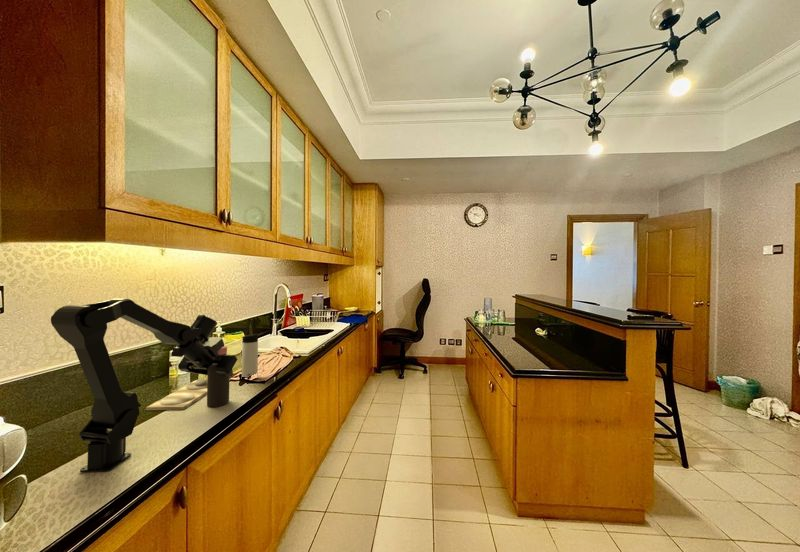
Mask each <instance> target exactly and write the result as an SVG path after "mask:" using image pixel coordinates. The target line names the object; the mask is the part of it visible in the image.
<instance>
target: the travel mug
mask: <svg viewBox="0 0 800 552" xmlns="http://www.w3.org/2000/svg"><path fill="white" fill-rule="evenodd" d="M258 339H259V333H254V334H253V333H252V334H247V335H245V336H244V335H243V336H242V345H241V378H242V377H249V376H252V375H254V374H256V373H257V374H258V362H259V359H258V358H259V357H258V356H259V340H258Z"/></svg>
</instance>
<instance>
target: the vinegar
mask: <svg viewBox="0 0 800 552" xmlns="http://www.w3.org/2000/svg"><path fill="white" fill-rule="evenodd" d="M217 352H218V353H219V354H218V355H217V357H215V358H222V356H223V355H228V354H227V353H228V346H227V345H226V346H225V345H224V347H222V348H221V349H220V350H219V351H217ZM206 376H207V394H206V406H207V407H209V408H220V407H222V406H225V405H227V404H228V403H229V402H230V377H229V376H224V375H220V374H219V373H217V372H216V366H215V365H211V366H209V368H208V373H207V375H206Z"/></svg>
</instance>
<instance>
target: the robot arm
mask: <svg viewBox="0 0 800 552" xmlns="http://www.w3.org/2000/svg"><path fill="white" fill-rule="evenodd" d="M119 319H123V320H125V321H127V322H130V323H132V324H134V325H136V326H138V327H140V328H142V329H143V330H147V331H148V332H150V333H152V334H153V336H154V337H155V338H156V339H157V340H158V341H159V342H161V343H163V344H166V345H175V347H172V352H171V357H173V358H174V357H175V358H176V357H178V358H179V357H180V358H182V359H181V360H180V361H179V363H178V364H177V369H178V370H179V371H180V372H185V373H191V374H195V375H196V374H197V375H203V376H207V373H208V368H209V366H211V365H215V366H216V372H217V373H219V374H220V375H224V376H229V378H232V377H233V375H234V371H233V369H234V366H235V364H236V363H237V362H238V357H237V356H236V355H235V354H226V355H223V356H222V358H215V357H217V355H218V354H219V353H218V352H217V351H219V350H220V349H221V348H222V347H224V346H225V343H224V339H223V338H222V337H219V336H212V337H210V336H211V334H212V333H213V331H214V330H215V328H216V327H217V326H218V323H217V320H215V319H213V318H210V317H208V316H206V314H198V315H197V317H196V318H195V320H194V322H193V323H192V324H191V326H190V325H187V324H183V323H181V322H176V321H172V320H171V321H170V320H168V319H166V318H164V317H162V316H160V315H158V314H156V313H155V312H152V311H151V310H149V309H147V308H145V307H143V306H141V305H139V304H137V303H135V301H134V300H132V299H129V298H111V299H107V300H105V301H101V302H100V301H98V302H94V303H88V304H82V305H72V304H71V305H64V306H61V307H60V308H58V309H56V310H55V311H54V313H53V315H51V317H50V323H51V326H52V327H53V329H54V330H55V331H56V332H57V334H58V335H59V337H60V338H62V339H63V340H64V341H66V342H67V343H68V344H69V345H70V346H72V347H73V349H74V351H75V355H76V356H77V360H78V362H79V364H80V367H81V369H82V371H83V375H84V376H85V378H86V381H87V384H88V386H89V388H90V391H91V394H92V395H93V397H94V398H93V399H94V401H93V404H92V407H91V410H90V412H91V418H90V420H89V421H88V423H86V425H84V427H83V428H82V429H81V430H80V432H79V433H78V436H79V439H80V440H81V441H82V442H84V441H86V442H89V443H88V445H87V464H86V465H85V466H83V467H82V468H80V469H79V472H80V473H89V472H94V473H95V472H108V471H112V469H114V468H115V467H117V466H118V465H119V464H121V463H122V462H124V461H125V460H127V459H128V458H130V457H131V456H132V453H131V452H126V449H127V448H126V446H127V445H126V444H127V442H126V441H127V440H126V439H127V438H128V437H129V436H131V435H133V432H134V428H135V427H136V424H137V420H138V417H140V407H142V404H141V403H139V400H138V399H139V398H138V395H137V394H136V392H128V391H123V389H122V386H121V384H120V380H119V378H118V375H117V372H116V370H115V366H114V365H113V362H112V360H111V357H110V353H109V351H108V348H107V345H106V341H105V340H104V339H105V336H106V333H107V330H108V324H109V323H112V322H115V321H116V320H119Z"/></svg>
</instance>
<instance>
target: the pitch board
mask: <svg viewBox="0 0 800 552" xmlns="http://www.w3.org/2000/svg"><path fill="white" fill-rule="evenodd" d="M206 396H207V379H203V378H201V379H195V380H194V381H191V382H189V383H187V384H186V385H184V386H182V387H181V388H179V389H177V390H175V391H173V392H172V393H170V394H168V395H166V396H164V397H163V398H161V399H159V400H157V401H155V402H153V403H151V404H150V405H148V406H146V408H145V410H146V411H178V410H179V411H181V410H182V411H183V410H185V409H187V408H188V407H190V406H191V405H193V404H194V403H196V402H197V401H199V400H201V397H202V398H203V397H206Z"/></svg>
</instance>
